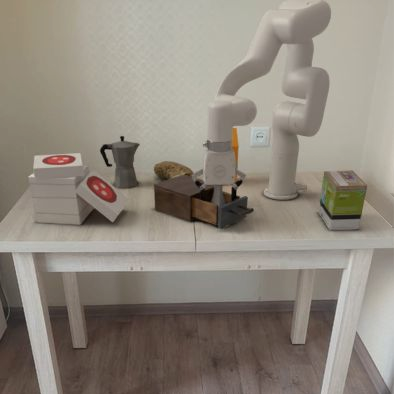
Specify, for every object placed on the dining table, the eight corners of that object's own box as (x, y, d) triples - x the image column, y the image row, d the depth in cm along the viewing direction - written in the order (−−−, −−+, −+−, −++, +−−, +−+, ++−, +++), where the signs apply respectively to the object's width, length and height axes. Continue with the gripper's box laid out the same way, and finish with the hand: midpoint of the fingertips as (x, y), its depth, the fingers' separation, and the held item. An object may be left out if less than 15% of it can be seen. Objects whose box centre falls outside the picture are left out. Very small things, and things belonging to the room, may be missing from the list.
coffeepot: (139, 179, 198) (135, 131, 188) (145, 186, 191) (142, 137, 180) (101, 183, 194) (96, 135, 183) (106, 190, 187) (101, 141, 176)
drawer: (259, 221, 161) (261, 200, 157) (234, 233, 152) (235, 212, 148) (211, 205, 172) (211, 186, 168) (184, 216, 164) (184, 196, 160)
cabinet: (218, 209, 171) (219, 184, 166) (190, 221, 162) (190, 195, 157) (183, 198, 180) (183, 174, 175) (154, 209, 171) (153, 184, 166)
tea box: (316, 213, 169) (323, 169, 160) (345, 212, 169) (353, 169, 161) (328, 230, 157) (336, 184, 148) (359, 230, 157) (369, 184, 149)
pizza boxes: (117, 229, 157) (112, 172, 146) (28, 224, 160) (16, 167, 149) (131, 207, 173) (127, 154, 162) (49, 203, 175) (40, 151, 165)
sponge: (198, 188, 193) (181, 164, 205) (196, 171, 187) (179, 146, 199) (167, 198, 191) (152, 173, 203) (164, 180, 185) (148, 155, 197)
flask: (221, 219, 159) (222, 189, 153) (202, 215, 162) (202, 185, 156) (232, 212, 163) (233, 182, 157) (213, 208, 166) (214, 178, 161)
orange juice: (236, 184, 194) (239, 130, 182) (215, 185, 192) (216, 131, 180) (231, 178, 200) (233, 125, 188) (210, 179, 198) (211, 126, 186)
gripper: (192, 149, 146) (192, 205, 157) (249, 148, 147) (245, 204, 157) (191, 143, 152) (191, 197, 163) (246, 142, 153) (242, 196, 163)
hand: (218, 200), depth 160 cm, fingers open, 9 cm apart
